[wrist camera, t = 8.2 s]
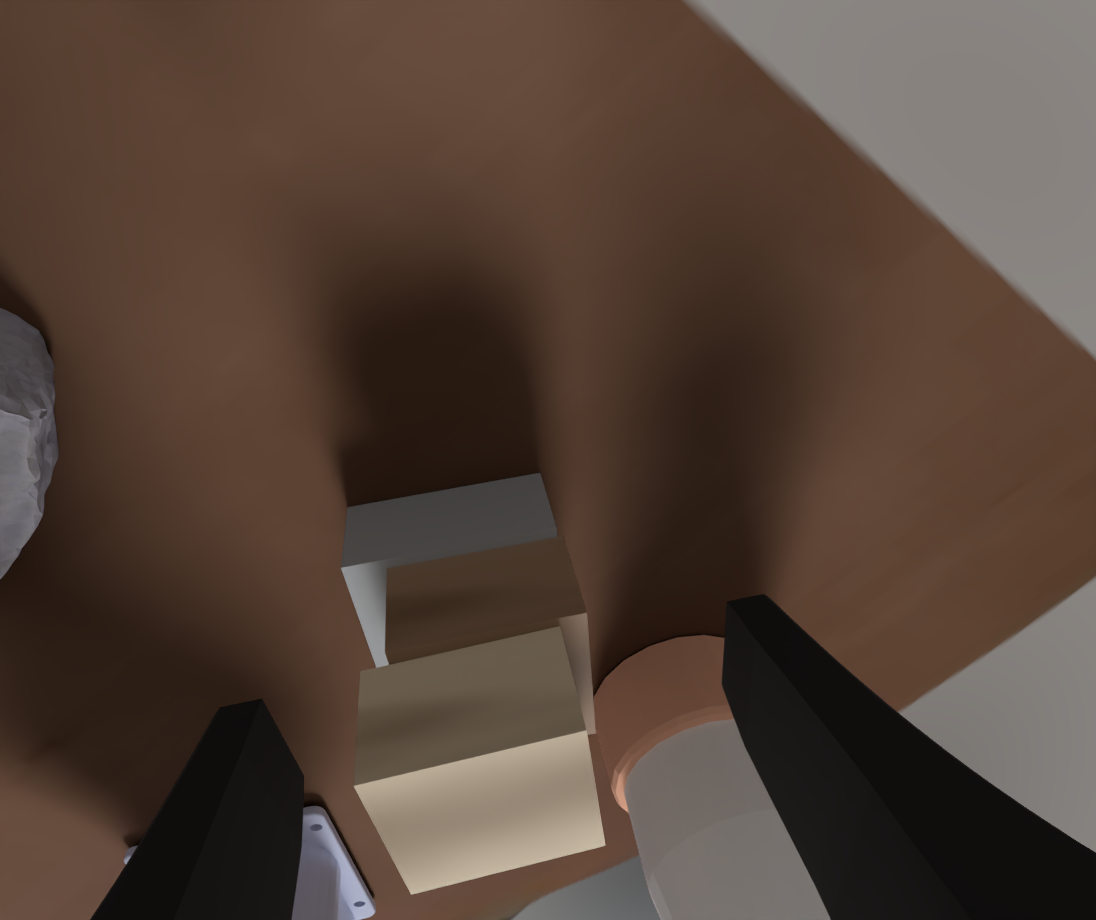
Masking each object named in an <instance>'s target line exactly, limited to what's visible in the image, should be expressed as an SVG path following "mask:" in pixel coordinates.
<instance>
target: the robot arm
mask: <svg viewBox="0 0 1096 920" xmlns="http://www.w3.org/2000/svg"><path fill="white" fill-rule="evenodd" d="M722 687H723V690H724V693H725V695H726V698H727V701H728V704H729V706H730V709H731V712H732V715H733V717H734V720H735V723H736V725H737V728H738V730H739V733H740V736H741V738H742V741H743V743H744V746H745V748H746V750H747V752H748V754H749V756H750V758H751V760H752V762H753V764H754V766H755V768H756V770H757V772H758V774H759V776H760V778H761V780H762V782H763V784H764V786H765V788H766V790H767V792H768V794H769V796H770V798H771V800H772V802H773V804H774V806H775V808H776V810H777V812H778V814H779V816H780V818H781V820H782V822H783V824H784V826H785V828H786V830H787V832H788V834H789V835H790V837H791V839H792V841H793V843H794V845H795V847H796V849H797V851H798V853H799V855H800V857H801V859H802V861H803V863H804V865H805V867H806V869H807V871H808V873H809V875H810V877H811V879H812V881H813V883H814V885H815V887H816V889H817V891H818V893H819V895H820V897H821V900H822V902H823V904H824V906H825V908H826V910H827V913H828V915H829V917H830V919H831V920H1096V853H1095V852H1094V851H1092V850H1090V849H1089V848H1087V847H1085V846H1084V845H1082V844H1081V843H1079V842H1077V841H1076V840H1074V839H1073V838H1071V837H1070V836H1068V835H1067V834H1065V833H1064V832H1062V831H1061V830H1059V829H1058V828H1056V827H1054V826H1052V825H1051V824H1050V823H1048V822H1047V821H1045V820H1044V819H1042V818H1041V817H1039V816H1038V815H1036V814H1035V813H1033V812H1032V811H1030V810H1029V809H1027V808H1026V807H1024V806H1023V805H1021V804H1020V803H1018V802H1017V801H1015V800H1014V799H1013V798H1011V797H1010V796H1008V795H1007V794H1005V793H1004V792H1002V791H1001V790H1000V789H998V788H997V787H995V786H994V785H992V784H991V783H989V782H988V781H987V780H985V779H984V778H982V777H981V776H980V775H978V774H977V773H976V772H974V771H973V770H971V769H970V768H969V767H967V766H966V765H965V764H963V763H962V762H961V761H959V760H958V759H957V758H955V757H954V756H953V755H951V754H950V753H948V752H947V751H946V750H944V749H943V748H942V747H941V746H939V745H938V744H937V743H936V742H934V741H933V740H932V739H930V738H929V737H928V736H927V735H925V734H924V733H923V732H921V731H920V730H919V729H917V728H916V727H915V726H914V725H913V724H911V723H910V722H909V721H908V720H906V719H905V718H904V717H903V716H901V715H900V714H899V713H898V712H897V711H895V710H894V709H893V708H892V707H890V706H889V705H888V704H887V703H886V702H885V701H883V700H882V699H881V698H880V697H879V696H877V695H876V694H875V693H874V692H873V691H872V690H870V689H869V688H868V687H867V686H866V685H864V684H863V683H862V682H861V681H860V680H859V679H857V678H856V677H855V676H854V675H853V674H852V673H850V672H849V671H848V670H847V669H846V668H845V667H844V666H843V665H841V664H840V663H839V662H838V661H837V660H836V659H835V658H834V657H832V656H831V655H830V654H829V653H828V652H827V651H826V650H825V649H824V648H823V647H821V646H820V645H819V644H818V643H817V642H816V641H815V640H814V639H813V638H812V637H811V636H809V635H808V634H807V633H806V632H805V631H804V630H803V629H802V628H801V627H800V626H799V625H798V624H797V623H796V622H794V621H793V620H792V619H791V618H790V617H789V616H788V615H787V614H786V613H785V612H784V611H783V610H782V609H781V608H780V607H779V606H778V605H777V604H776V603H774V602H773V601H772V600H771V599H770V598H769V597H768V596H766V595H765V594H761V595H757V596H752V597H747V598H742V599H738V600H733V601H728V602H727V608H726V623H725V638H724V654H723V669H722ZM303 799H304V775H303V773H302V771H301V770H300V768H299V766H298V764H297V762H296V760H295V759H294V757H293V755H292V753H291V751H290V749H289V747H288V746H287V744H286V742H285V740H284V738H283V736H282V735H281V733H280V731H279V729H278V727H277V725H276V724H275V722H274V720H273V718H272V716H271V714H270V712H269V711H268V709H267V707H266V705H265V703H264V701H263V700H262V699H258V700H254V701H249V702H244V703H239V704H234V705H230V706H225V707H220V709H219V710H218V711H217V712H216V714H215V715H214V717H213V719H212V721H211V722H210V724H209V726H208V728H207V729H206V731H205V733H204V734H203V736H202V738H201V740H200V741H199V743H198V745H197V747H196V748H195V750H194V752H193V754H192V755H191V757H190V759H189V761H188V762H187V764H186V766H185V768H184V769H183V771H182V773H181V775H180V776H179V778H178V780H177V781H176V783H175V785H174V786H173V788H172V790H171V792H170V793H169V795H168V797H167V798H166V800H165V802H164V803H163V805H162V807H161V809H160V810H159V812H158V814H157V815H156V817H155V818H154V820H153V822H152V823H151V825H150V827H149V828H148V830H147V831H146V833H145V835H144V836H143V838H142V840H141V841H140V843H139V844H138V845H137V846H134V847H131V848H129V849H128V850H127V852H126V855H125V858H124V863H125V864H126V866H125V867H124V869H123V870H122V872H121V874H120V875H119V877H118V878H117V880H116V881H115V883H114V885H113V886H112V888H111V889H110V891H109V892H108V894H107V895H106V897H105V898H104V900H103V901H102V903H101V904H100V906H99V907H98V909H97V910H96V912H95V913H94V915H93V916H92V918H91V919H90V920H360V919H364V918H368V917H371V916H372V915H373V914H374V913H375V902H374V900H373V898H372V896H371V894H370V893H369V891H368V889H367V887H366V885H365V883H364V881H363V880H362V878H361V876H360V874H359V872H358V870H357V868H356V867H355V865H354V863H353V861H352V859H351V857H350V855H349V854H348V852H347V850H346V848H345V846H344V844H343V842H342V841H341V839H340V837H339V835H338V833H337V831H336V829H335V828H334V826H333V824H332V822H331V820H330V818H329V816H328V815H327V813H326V811H325V810H324V809H323V808H322V807H319V806H309V807H305V808H303Z"/></svg>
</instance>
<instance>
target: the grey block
mask: <svg viewBox="0 0 1096 920" xmlns="http://www.w3.org/2000/svg"><path fill="white" fill-rule="evenodd" d="M556 537H557V528H556V524H555V521H554V518H553V514H552V511H551V507H550V504H549V501H548V497H547V494H546V491H545V487H544V484H543V480H542V477H541V474H540V473H536V474H530V475H525V476H519V477H514V478H508V479H502V480H497V481H491V482H486V483H480V484H475V485H469V486H463V487H458V488H452V489H447V490H441V491H436V492H430V493H424V494H419V495H413V496H408V497H402V498H397V499H391V500H385V501H380V502H374V503H369V504H363V505H357V506H352V507H347V516H346V525H345V535H344V544H343V554H342V563H341V569H342V572H343V575H344V578H345V580H346V583H347V586H348V589H349V592H350V594H351V597H352V600H353V603H354V606H355V609H356V611H357V614H358V617H359V620H360V623H361V625H362V628H363V631H364V634H365V637H366V639H367V642H368V645H369V648H370V651H371V654H372V656H373V659H374V662H375V665H376V668H378V667H382V666H386V665H389V663H388V660H387V657H386V654H385V620H386V578H387V568H391V567H397V566H402V565H408V564H413V563H419V562H424V561H430V560H435V559H441V558H446V557H451V556H457V555H462V554H468V553H473V552H479V551H484V550H490V549H495V548H501V547H506V546H512V545H517V544H523V543H528V542H534V541H539V540H545V539H550V538H556Z"/></svg>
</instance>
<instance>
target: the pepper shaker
mask: <svg viewBox="0 0 1096 920" xmlns="http://www.w3.org/2000/svg"><path fill="white" fill-rule="evenodd" d="M723 654H724V638H721V637H715V636H708V635H698V636H687V637H677V638H674V639H670V640H667V641H664V642H661V643H658V644H655V645H651V646H649V647H647V648H645V649H643V650H642V651H640V652H638V653H636V654H634V655H633V656H631V657H629V658H627V659H626V660H624V661H623V662H622V663H621V664H620V665H619V666H617V667H616V668H615V669H614V670H613V671H612V672H611V673H610V674H609V675H608V676H606V677H605V679H604V681H603V682H602V684H601V686H600V687H599V689H598V691H597V692H596V694H595V696H594V701H593V702H594V715H595V729H596V733H597V736H598V740H599V744H600V748H601V751H602V755H603V759H604V762H605V766H606V770H607V774H608V777H609V781H610V785H611V788H612V791H613V793H614V796H615V799H616V801H617V803H618V804H619V805H620V806H621V807H622V808H623V809H624V810H626V811H627V812H628V813H629V815H630V819H631V823H632V827H633V831H634V835H635V839H636V843H637V847H638V851H639V855H640V859H641V863H642V867H643V871H644V875H645V879H646V882H647V887H648V890H649V892H650V895H651V897H652V900H653V903H654V905H655V907H656V909H657V912H658V914H659V916H660V918H661V920H831V919H830V917H829V915H828V913H827V910H826V908H825V906H824V904H823V902H822V900H821V897H820V895H819V893H818V891H817V889H816V887H815V885H814V883H813V881H812V879H811V877H810V875H809V873H808V871H807V869H806V867H805V865H804V863H803V861H802V859H801V857H800V855H799V853H798V851H797V849H796V847H795V845H794V843H793V841H792V839H791V837H790V835H789V834H788V832H787V830H786V828H785V826H784V824H783V822H782V820H781V818H780V816H779V814H778V812H777V810H776V808H775V806H774V804H773V802H772V800H771V798H770V796H769V794H768V792H767V790H766V788H765V786H764V784H763V782H762V780H761V778H760V776H759V774H758V772H757V770H756V768H755V766H754V764H753V762H752V760H751V758H750V756H749V754H748V752H747V750H746V748H745V746H744V743H743V741H742V738H741V736H740V733H739V730H738V728H737V725H736V723H735V720H734V717H733V715H732V712H731V709H730V706H729V704H728V701H727V698H726V695H725V693H724V690H723V687H722V669H723Z"/></svg>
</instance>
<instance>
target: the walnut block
mask: <svg viewBox="0 0 1096 920" xmlns="http://www.w3.org/2000/svg"><path fill="white" fill-rule="evenodd" d="M558 626H560V628H561V632H562V636H563V640H564V644H565V648H566V651H567V655H568V659H569V663H570V667H571V671H572V675H573V679H574V683H575V687H576V691H577V695H578V699H579V702H580V706H581V710H582V714H583V718H584V722H585V726H586V730H587V735H589V734H594V733H596V729H595V715H594V702H593V688H592V675H591V662H590V648H589V635H588V621H587V612H586V608H585V605H584V602H583V598H582V595H581V592H580V589H579V585H578V582H577V579H576V575H575V572H574V569H573V566H572V562H571V559H570V556H569V553H568V549H567V546H566V543H565V539H564V536H561V537H556V538H550V539H545V540H539V541H534V542H528V543H523V544H517V545H512V546H506V547H501V548H495V549H490V550H484V551H479V552H473V553H468V554H462V555H457V556H451V557H446V558H441V559H435V560H430V561H424V562H419V563H413V564H408V565H402V566H397V567H391V568H387V578H386V620H385V654H386V657H387V660H388V663H389V665H391V664H395V663H400V662H404V661H408V660H413V659H417V658H422V657H426V656H430V655H435V654H439V653H444V652H448V651H452V650H457V649H461V648H465V647H470V646H474V645H479V644H483V643H487V642H492V641H496V640H501V639H505V638H509V637H514V636H518V635H523V634H527V633H531V632H536V631H540V630H545V629H549V628H553V627H558Z"/></svg>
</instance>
